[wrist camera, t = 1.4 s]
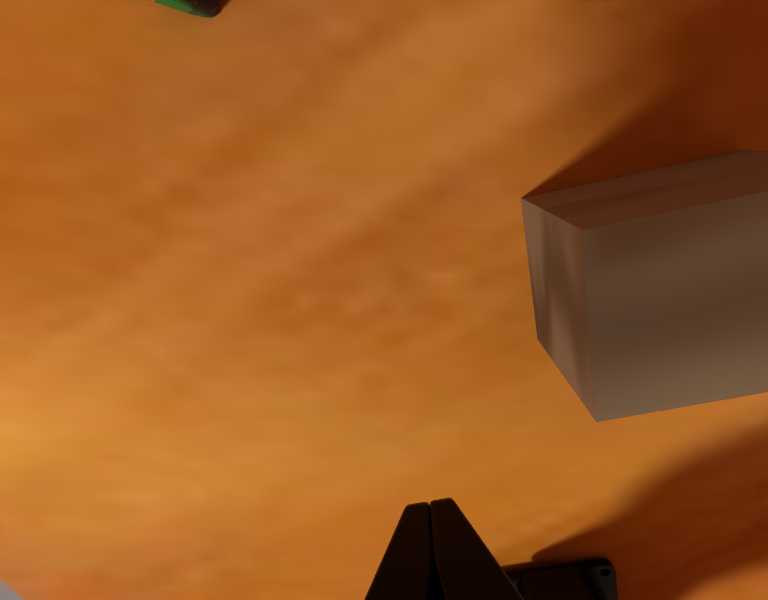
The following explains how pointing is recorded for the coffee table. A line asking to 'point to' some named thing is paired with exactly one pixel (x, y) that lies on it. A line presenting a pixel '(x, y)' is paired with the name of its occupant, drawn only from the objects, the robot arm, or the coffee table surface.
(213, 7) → the chalk box
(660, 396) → the walnut brick
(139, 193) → the coffee table surface
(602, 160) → the coffee table surface
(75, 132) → the coffee table surface
